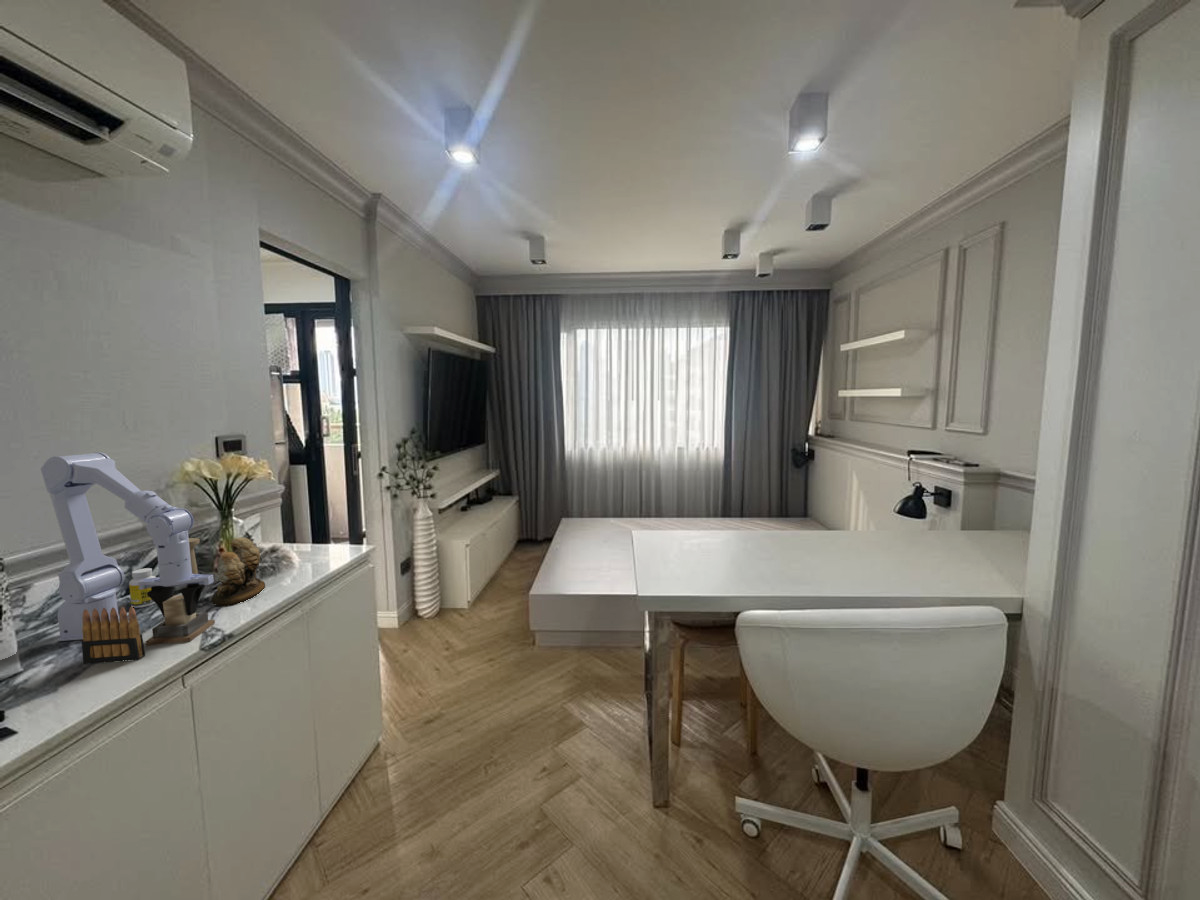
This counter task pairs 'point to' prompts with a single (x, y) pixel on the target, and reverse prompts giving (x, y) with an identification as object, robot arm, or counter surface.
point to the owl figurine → (238, 574)
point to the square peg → (176, 611)
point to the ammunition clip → (111, 637)
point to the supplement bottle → (140, 596)
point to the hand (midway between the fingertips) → (180, 614)
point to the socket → (180, 630)
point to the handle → (193, 543)
